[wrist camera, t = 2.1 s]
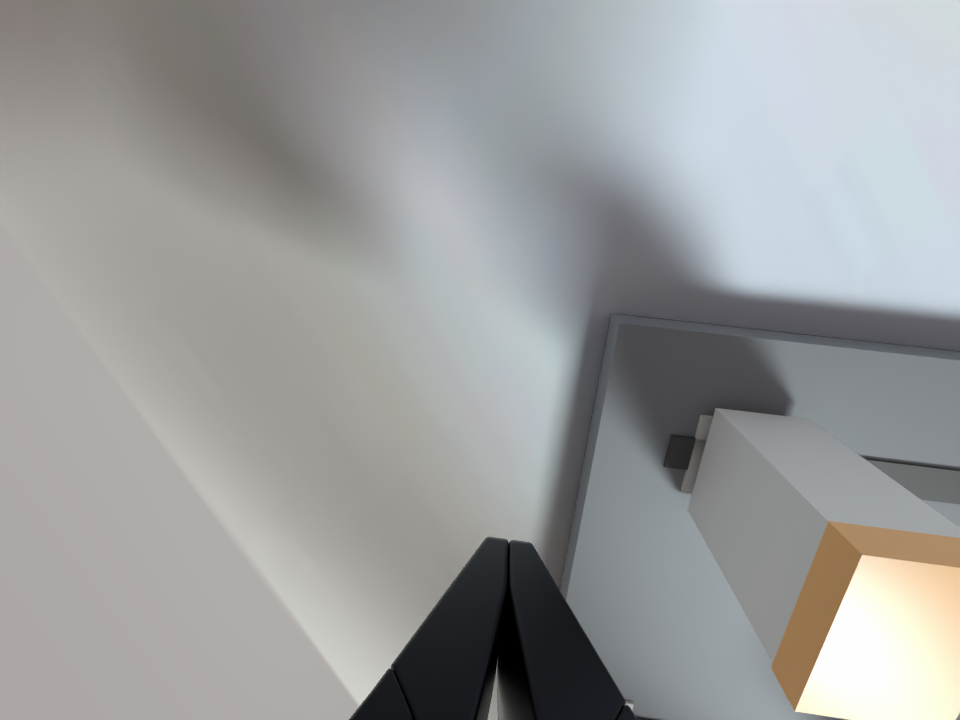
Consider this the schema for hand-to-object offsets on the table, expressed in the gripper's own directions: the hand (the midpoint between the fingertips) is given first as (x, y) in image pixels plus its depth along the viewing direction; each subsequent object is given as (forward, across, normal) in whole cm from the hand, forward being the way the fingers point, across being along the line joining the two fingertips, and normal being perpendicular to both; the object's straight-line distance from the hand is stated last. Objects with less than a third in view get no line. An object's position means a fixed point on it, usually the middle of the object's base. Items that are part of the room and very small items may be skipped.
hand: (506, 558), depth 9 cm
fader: (+5, -6, 0) cm, 8 cm away
